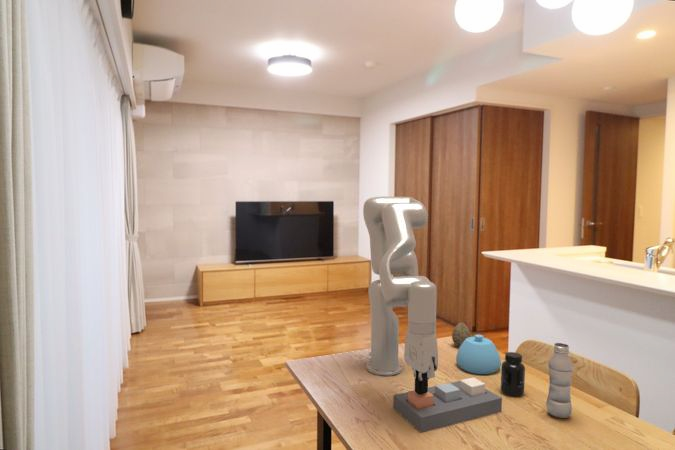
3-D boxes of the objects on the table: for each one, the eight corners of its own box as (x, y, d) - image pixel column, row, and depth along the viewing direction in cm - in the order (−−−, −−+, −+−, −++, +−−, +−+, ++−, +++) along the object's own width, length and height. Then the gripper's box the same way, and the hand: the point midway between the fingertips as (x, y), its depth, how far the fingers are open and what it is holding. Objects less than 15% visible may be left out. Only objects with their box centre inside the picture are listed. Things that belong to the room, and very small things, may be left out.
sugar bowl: (476, 356, 170) (477, 326, 170) (509, 370, 158) (510, 337, 157) (447, 364, 163) (447, 333, 162) (479, 379, 150) (480, 345, 149)
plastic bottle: (569, 411, 128) (572, 342, 127) (573, 423, 122) (576, 350, 120) (544, 407, 130) (547, 339, 129) (547, 419, 124) (549, 347, 122)
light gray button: (434, 400, 130) (434, 385, 130) (448, 397, 132) (449, 382, 132) (445, 408, 126) (445, 392, 125) (460, 404, 128) (460, 389, 127)
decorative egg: (460, 342, 186) (461, 318, 185) (474, 347, 180) (474, 323, 179) (448, 345, 182) (448, 321, 181) (461, 351, 176) (462, 326, 175)
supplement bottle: (526, 398, 136) (527, 359, 135) (502, 396, 138) (503, 357, 137) (521, 388, 143) (523, 351, 142) (499, 386, 144) (500, 349, 143)
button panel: (393, 408, 130) (393, 395, 130) (468, 391, 141) (468, 378, 141) (421, 432, 117) (421, 417, 117) (501, 411, 128) (501, 397, 128)
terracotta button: (407, 406, 127) (408, 391, 126) (422, 403, 129) (423, 388, 128) (418, 414, 122) (418, 398, 122) (433, 411, 124) (433, 395, 124)
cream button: (459, 394, 134) (460, 380, 133) (473, 391, 136) (473, 377, 135) (471, 402, 129) (471, 387, 129) (485, 398, 131) (485, 384, 131)
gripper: (395, 321, 129) (395, 384, 130) (426, 336, 115) (425, 406, 116) (417, 318, 132) (417, 380, 133) (450, 332, 118) (449, 401, 119)
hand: (421, 392), depth 125 cm, fingers closed
